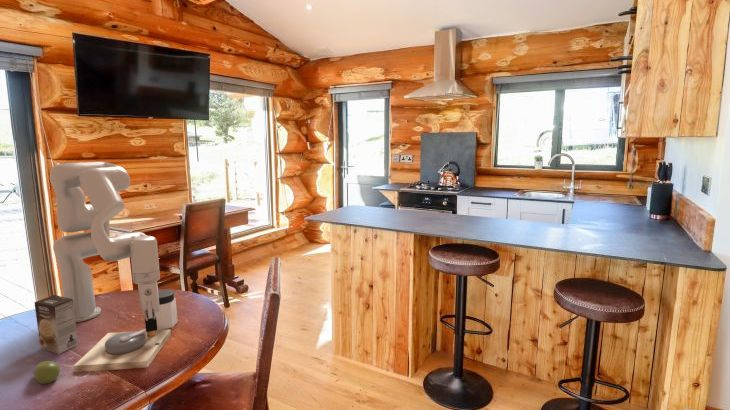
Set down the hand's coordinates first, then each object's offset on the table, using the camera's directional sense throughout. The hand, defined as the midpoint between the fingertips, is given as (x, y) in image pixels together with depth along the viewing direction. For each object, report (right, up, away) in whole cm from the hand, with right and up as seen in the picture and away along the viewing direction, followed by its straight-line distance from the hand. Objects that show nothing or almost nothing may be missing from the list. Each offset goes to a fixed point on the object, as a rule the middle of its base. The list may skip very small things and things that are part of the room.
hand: (151, 330), depth 130 cm
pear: (-21, -9, -16) cm, 28 cm away
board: (-7, -6, -2) cm, 9 cm away
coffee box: (-30, -6, +1) cm, 31 cm away
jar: (-4, -3, +16) cm, 17 cm away
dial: (-6, -4, -1) cm, 7 cm away
